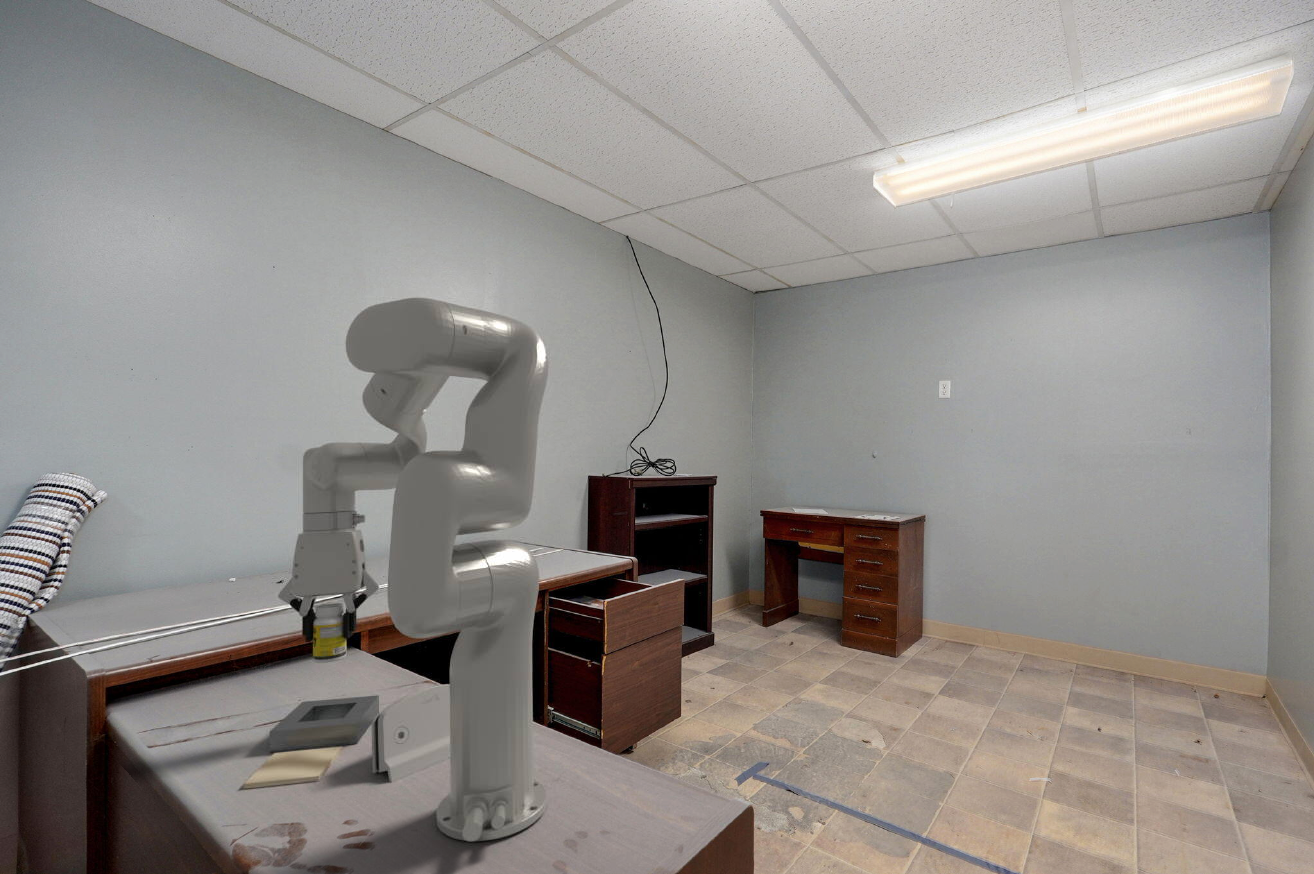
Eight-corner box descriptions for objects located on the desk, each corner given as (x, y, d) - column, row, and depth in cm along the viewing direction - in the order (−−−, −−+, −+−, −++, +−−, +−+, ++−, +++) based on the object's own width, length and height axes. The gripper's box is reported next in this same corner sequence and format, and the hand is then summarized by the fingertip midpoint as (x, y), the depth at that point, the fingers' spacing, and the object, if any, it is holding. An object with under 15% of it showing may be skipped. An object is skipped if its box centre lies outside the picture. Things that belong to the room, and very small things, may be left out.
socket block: (356, 743, 91) (356, 723, 91) (269, 752, 89) (269, 731, 89) (378, 713, 103) (379, 695, 103) (302, 720, 101) (302, 701, 101)
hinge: (388, 783, 79) (376, 703, 82) (372, 785, 82) (361, 708, 84) (496, 738, 92) (482, 670, 94) (479, 741, 94) (466, 675, 97)
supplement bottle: (315, 657, 98) (315, 604, 98) (348, 653, 100) (348, 601, 100) (310, 665, 93) (310, 609, 94) (344, 660, 95) (344, 606, 96)
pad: (318, 780, 80) (318, 776, 80) (243, 788, 79) (243, 784, 79) (341, 750, 89) (341, 746, 89) (274, 757, 87) (274, 753, 87)
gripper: (390, 519, 104) (391, 627, 102) (279, 525, 100) (279, 637, 98) (381, 521, 96) (382, 638, 95) (261, 528, 92) (260, 650, 91)
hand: (329, 637), depth 97 cm, fingers closed on supplement bottle, 4 cm apart
